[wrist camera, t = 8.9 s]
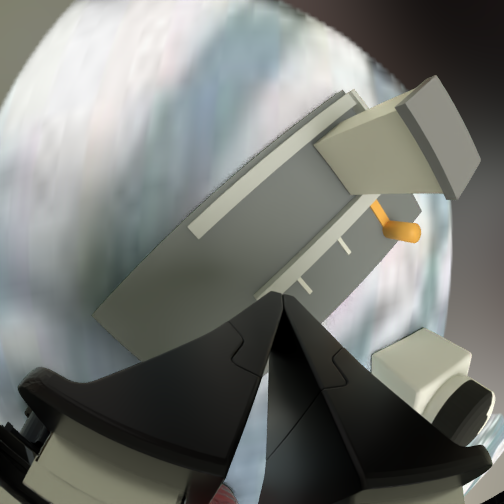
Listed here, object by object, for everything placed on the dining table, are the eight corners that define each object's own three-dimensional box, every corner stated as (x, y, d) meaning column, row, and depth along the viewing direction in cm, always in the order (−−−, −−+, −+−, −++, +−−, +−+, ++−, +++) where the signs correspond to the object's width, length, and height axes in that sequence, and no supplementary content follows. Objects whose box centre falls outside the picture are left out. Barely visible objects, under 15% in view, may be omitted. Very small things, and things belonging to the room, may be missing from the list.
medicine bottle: (368, 406, 24) (436, 476, 13) (370, 353, 23) (460, 425, 11) (418, 378, 26) (489, 430, 14) (424, 325, 24) (512, 373, 13)
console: (213, 408, 20) (219, 440, 17) (94, 311, 17) (76, 333, 14) (415, 210, 22) (446, 212, 18) (337, 93, 19) (364, 76, 15)
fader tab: (350, 198, 19) (457, 200, 10) (309, 144, 18) (405, 103, 8) (377, 171, 19) (481, 160, 10) (340, 118, 18) (436, 75, 9)
